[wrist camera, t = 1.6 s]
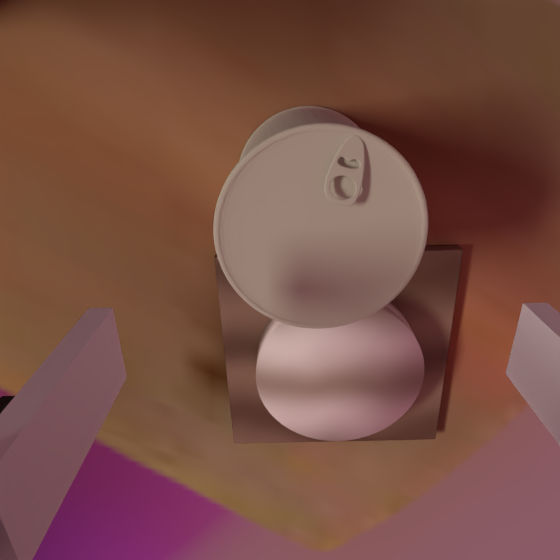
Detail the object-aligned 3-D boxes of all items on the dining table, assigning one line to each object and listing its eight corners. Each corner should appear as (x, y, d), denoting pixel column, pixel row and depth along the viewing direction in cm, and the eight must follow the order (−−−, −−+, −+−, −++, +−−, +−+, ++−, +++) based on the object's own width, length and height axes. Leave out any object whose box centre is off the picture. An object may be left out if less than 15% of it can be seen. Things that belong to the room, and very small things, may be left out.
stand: (216, 252, 31) (208, 272, 28) (457, 244, 31) (477, 263, 28) (235, 434, 38) (230, 466, 35) (431, 430, 38) (445, 462, 35)
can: (398, 130, 28) (474, 163, 17) (348, 260, 31) (383, 357, 20) (258, 86, 27) (240, 89, 16) (223, 225, 30) (189, 307, 19)
